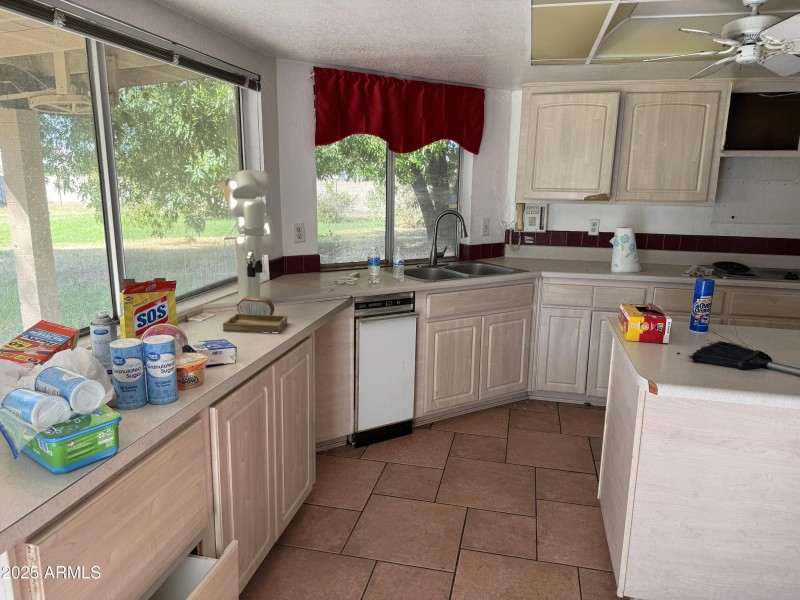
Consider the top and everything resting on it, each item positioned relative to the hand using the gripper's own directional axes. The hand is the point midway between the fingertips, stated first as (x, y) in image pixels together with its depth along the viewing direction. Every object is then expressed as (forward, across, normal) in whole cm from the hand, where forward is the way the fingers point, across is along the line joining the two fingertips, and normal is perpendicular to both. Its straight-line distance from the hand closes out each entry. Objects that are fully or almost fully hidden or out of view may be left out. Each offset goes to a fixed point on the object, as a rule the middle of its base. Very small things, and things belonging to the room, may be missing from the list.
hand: (255, 274), depth 217 cm
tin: (+18, 0, 0) cm, 18 cm away
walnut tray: (+18, +13, +4) cm, 23 cm away
